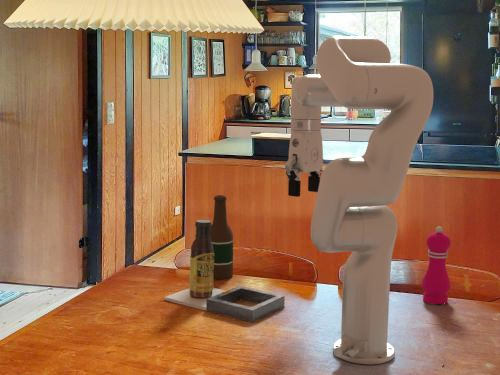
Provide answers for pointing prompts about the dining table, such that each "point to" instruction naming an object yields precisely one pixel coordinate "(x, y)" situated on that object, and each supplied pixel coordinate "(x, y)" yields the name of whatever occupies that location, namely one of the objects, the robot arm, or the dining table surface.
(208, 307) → the collar
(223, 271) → the beer bottle
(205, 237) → the sauce bottle
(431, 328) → the dining table surface
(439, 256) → the pepper mill
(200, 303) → the plate
